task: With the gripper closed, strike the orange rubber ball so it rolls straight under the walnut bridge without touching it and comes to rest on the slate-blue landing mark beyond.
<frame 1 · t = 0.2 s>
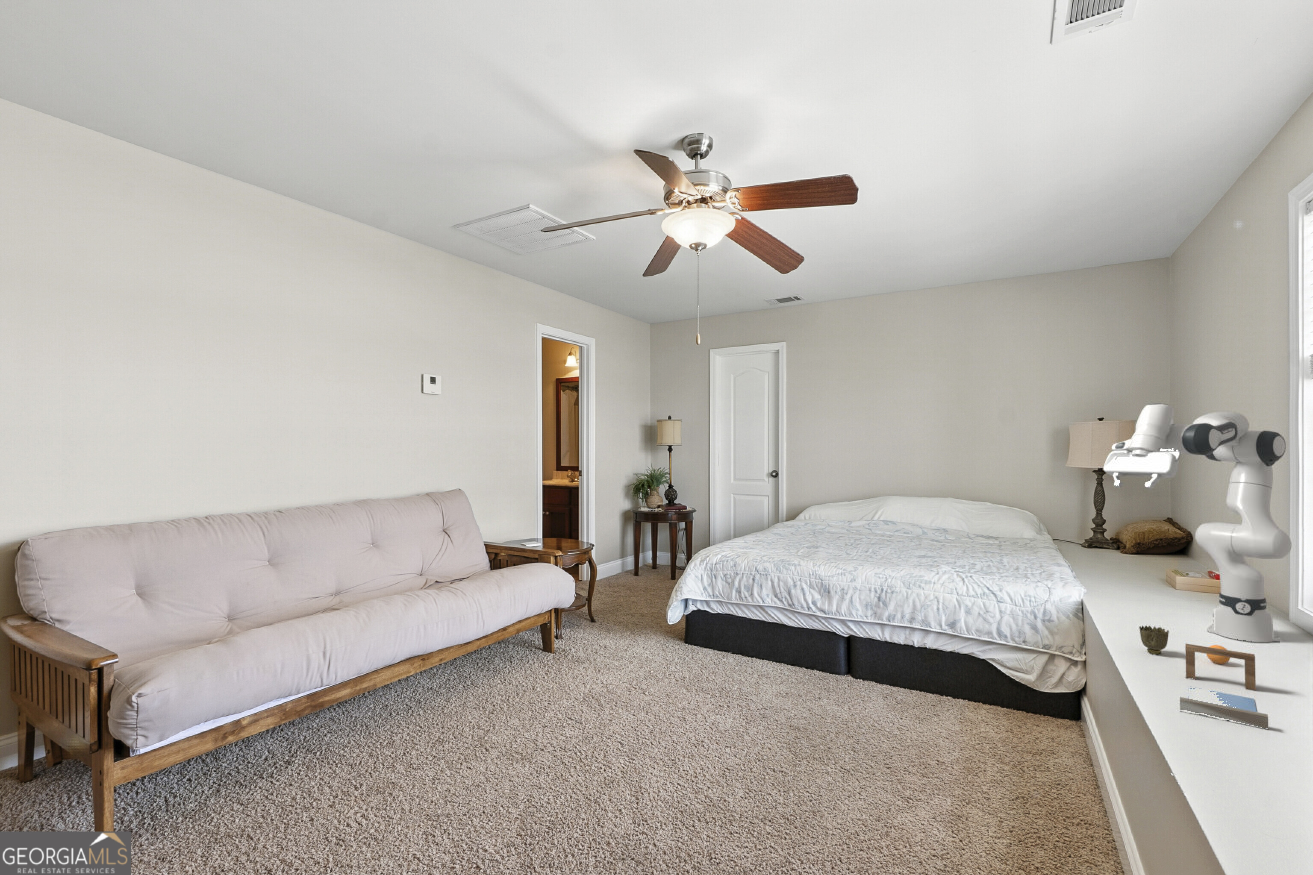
hand: (1132, 487, 197), 54 cm above the table, tool tilted 30°, fingers open, 8 cm apart
landing mark: (1221, 700, 164), on the table
ball: (1218, 654, 191), on the table
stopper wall: (1222, 718, 153), on the table
cup: (1154, 653, 200), on the table
bridge: (1219, 682, 176), on the table
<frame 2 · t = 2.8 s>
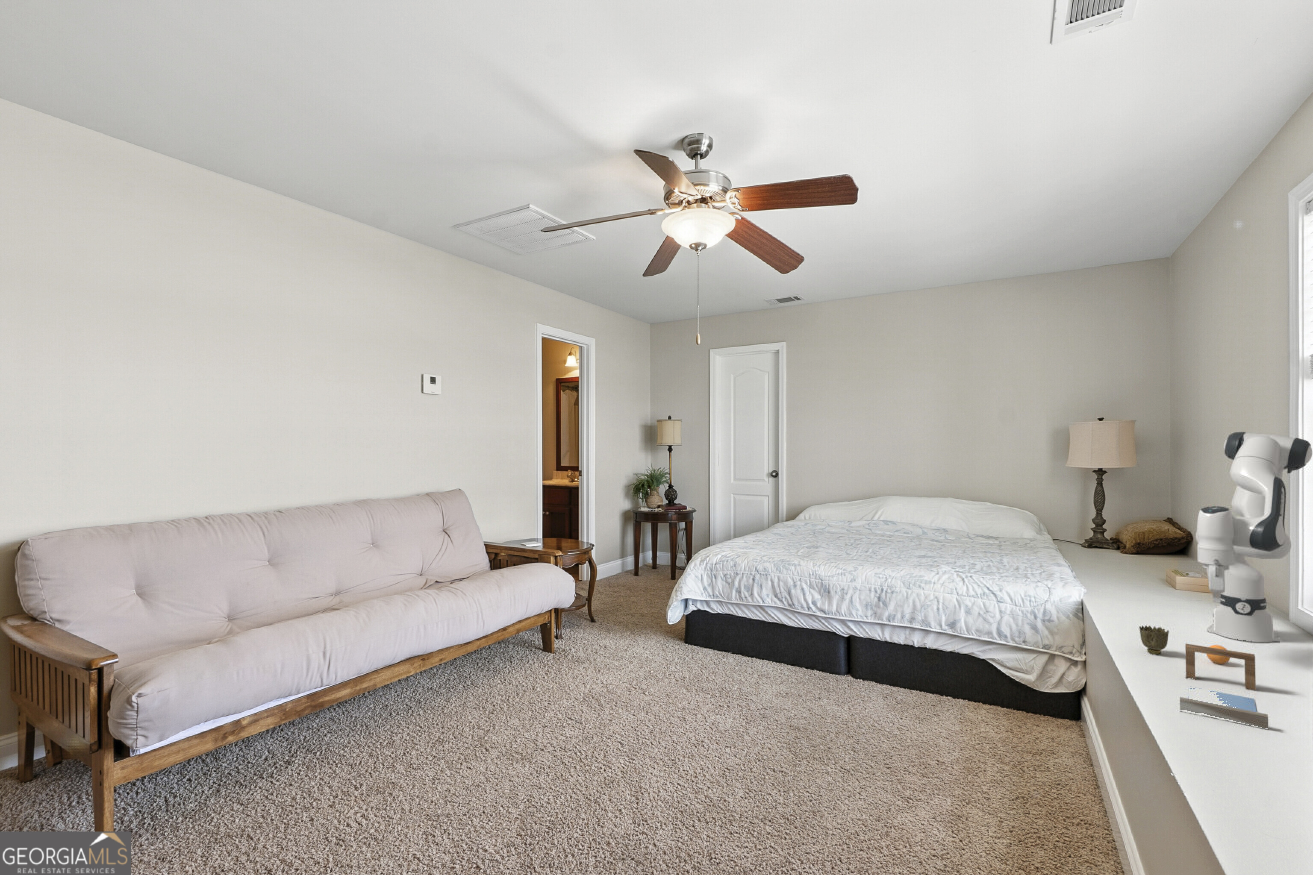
hand: (1216, 601, 198), 17 cm above the table, tool pointing down, fingers closed
nothing on the table moved.
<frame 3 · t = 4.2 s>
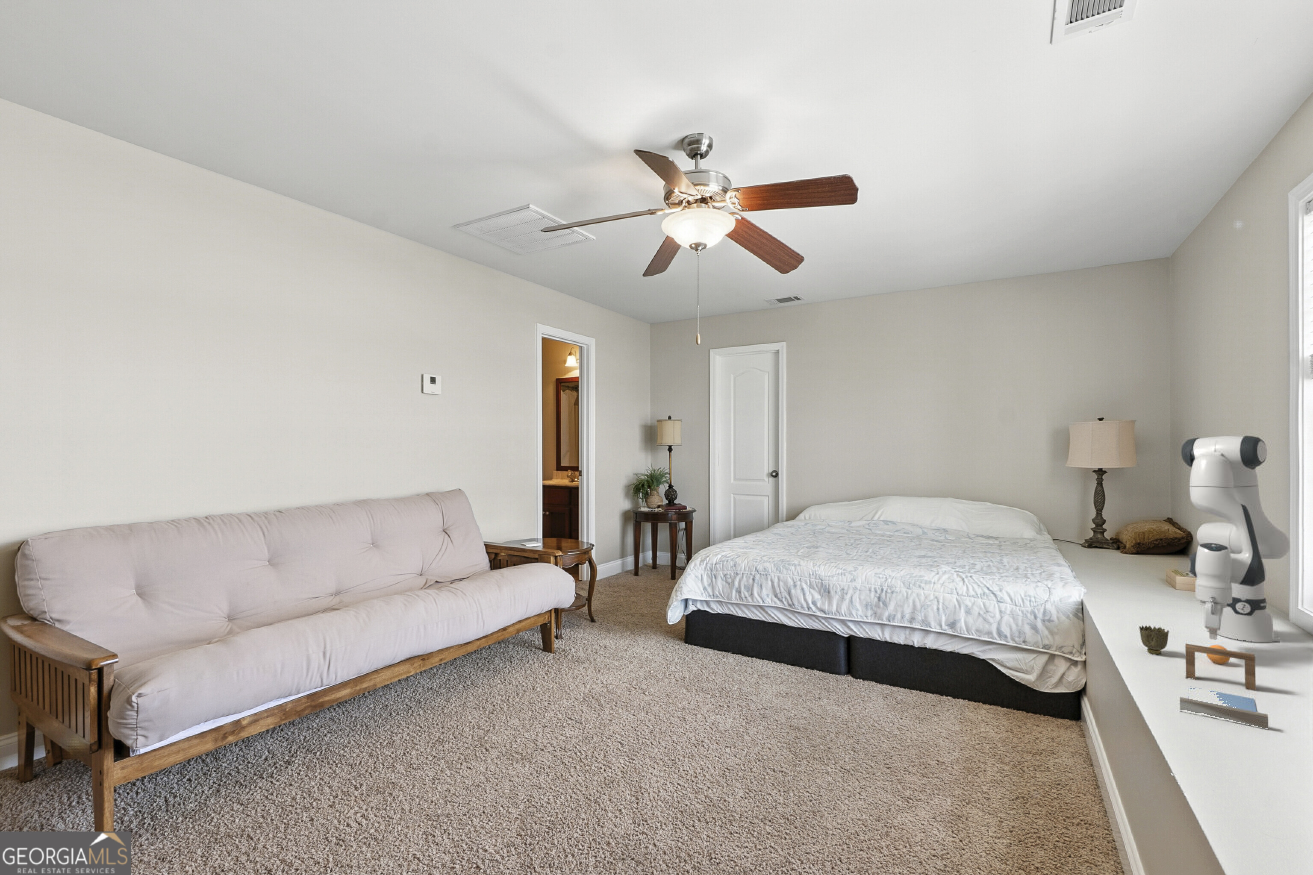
hand: (1213, 638, 198), 5 cm above the table, tool pointing down, fingers closed
nothing on the table moved.
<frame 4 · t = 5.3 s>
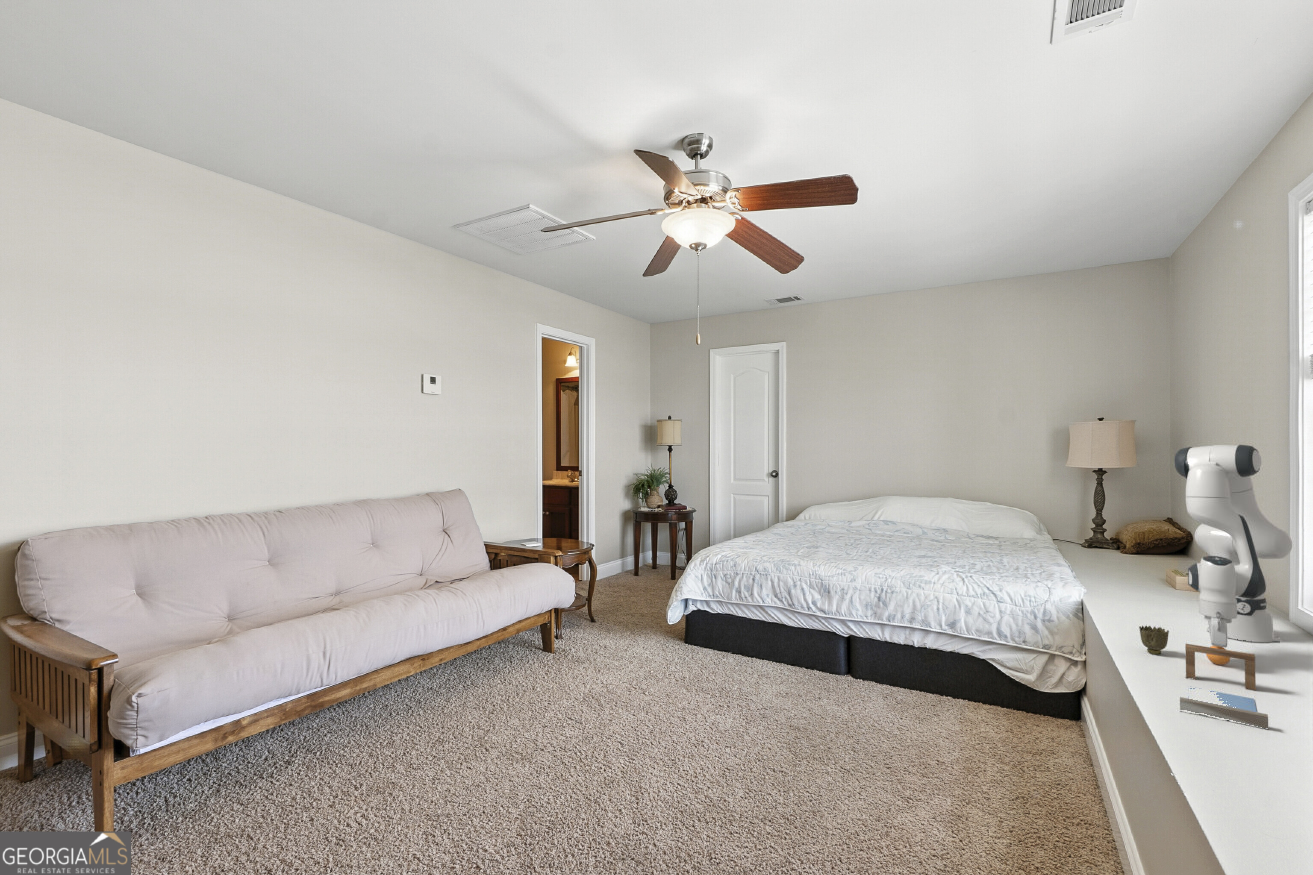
hand: (1218, 654, 193), 2 cm above the table, tool pointing down, fingers closed
ball: (1218, 655, 190), on the table, touching gripper
everything else where it was.
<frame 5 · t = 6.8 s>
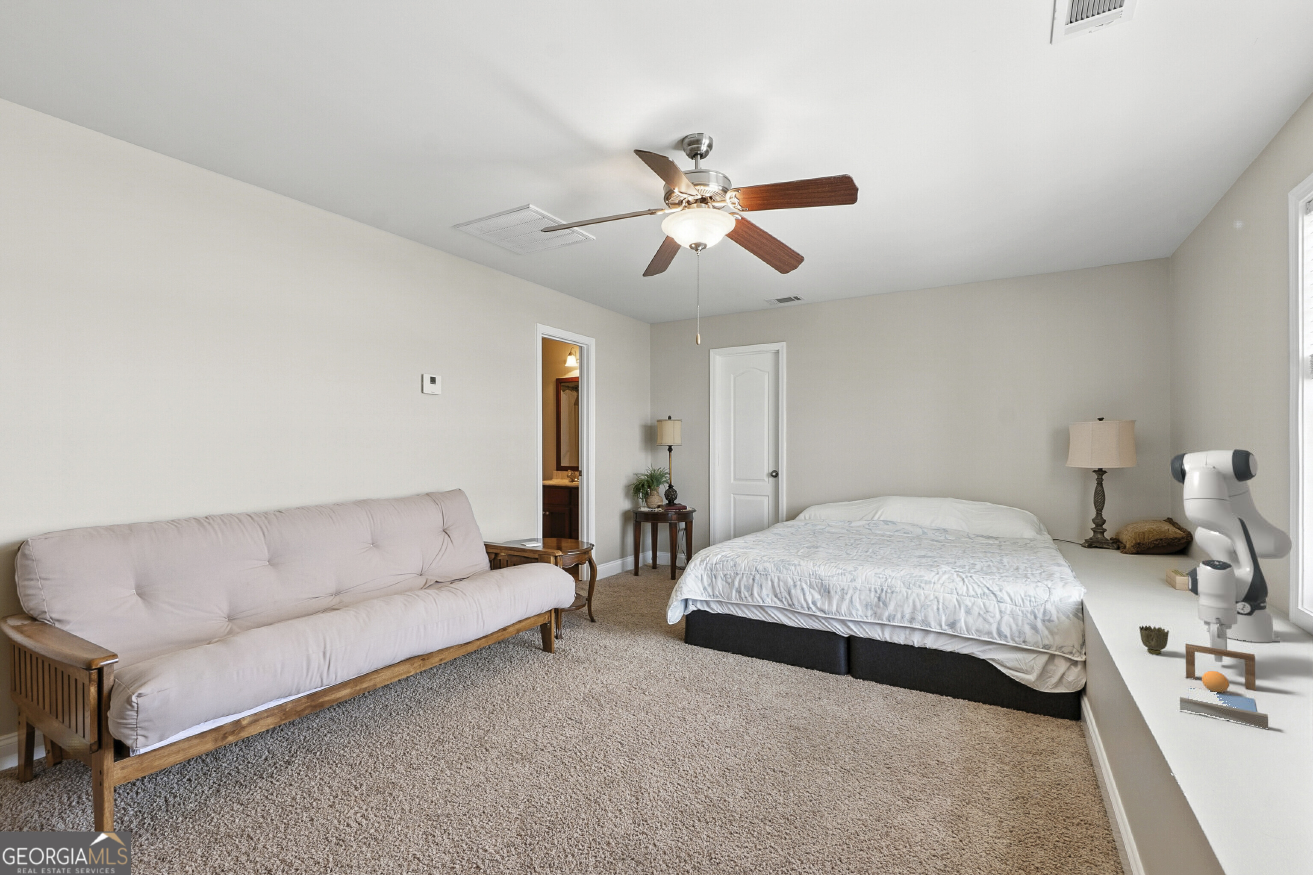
hand: (1218, 660, 188), 2 cm above the table, tool pointing down, fingers closed
ball: (1215, 681, 169), on the table
everything else where it was.
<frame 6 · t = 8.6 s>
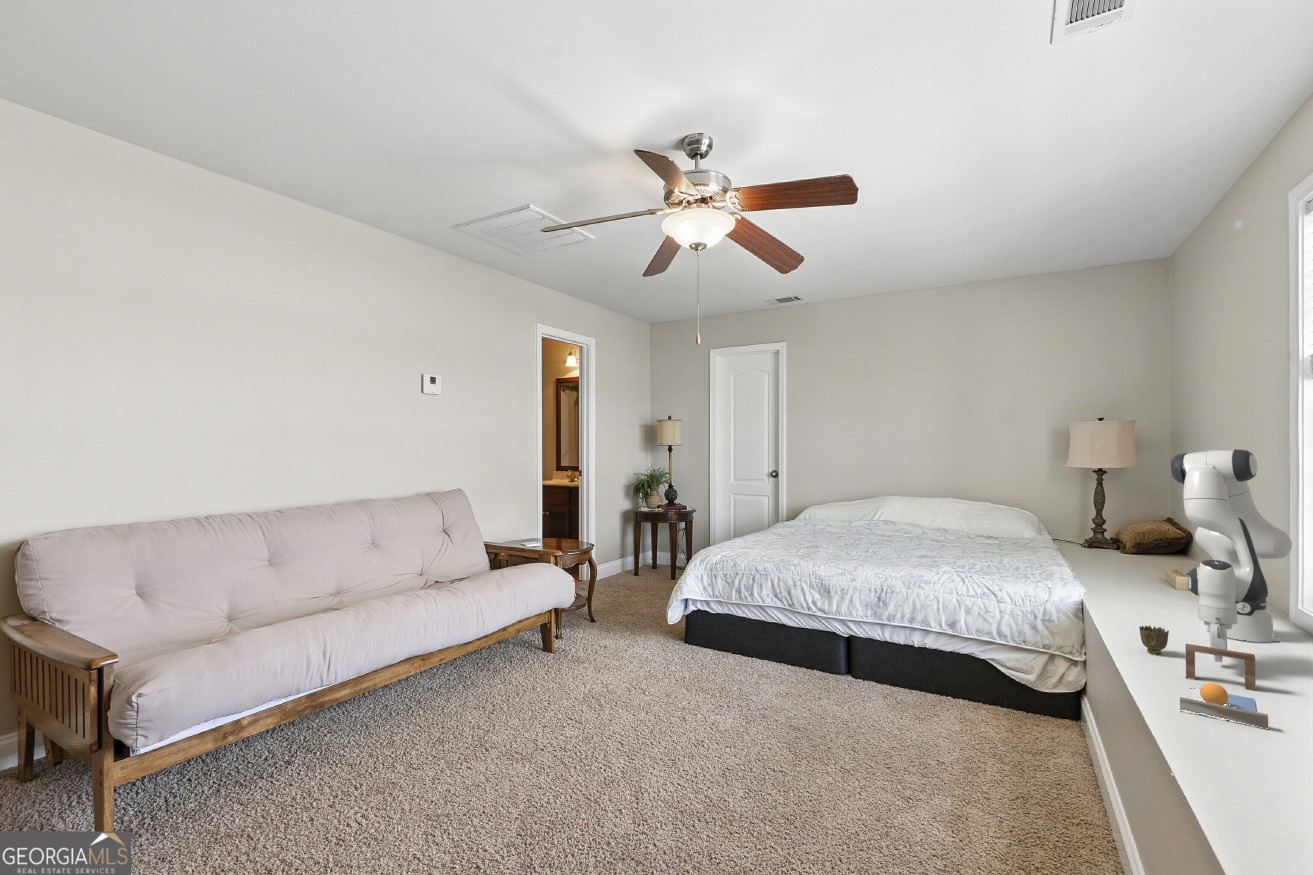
hand: (1218, 660, 188), 2 cm above the table, tool pointing down, fingers closed
ball: (1213, 694, 161), on the table
everything else where it was.
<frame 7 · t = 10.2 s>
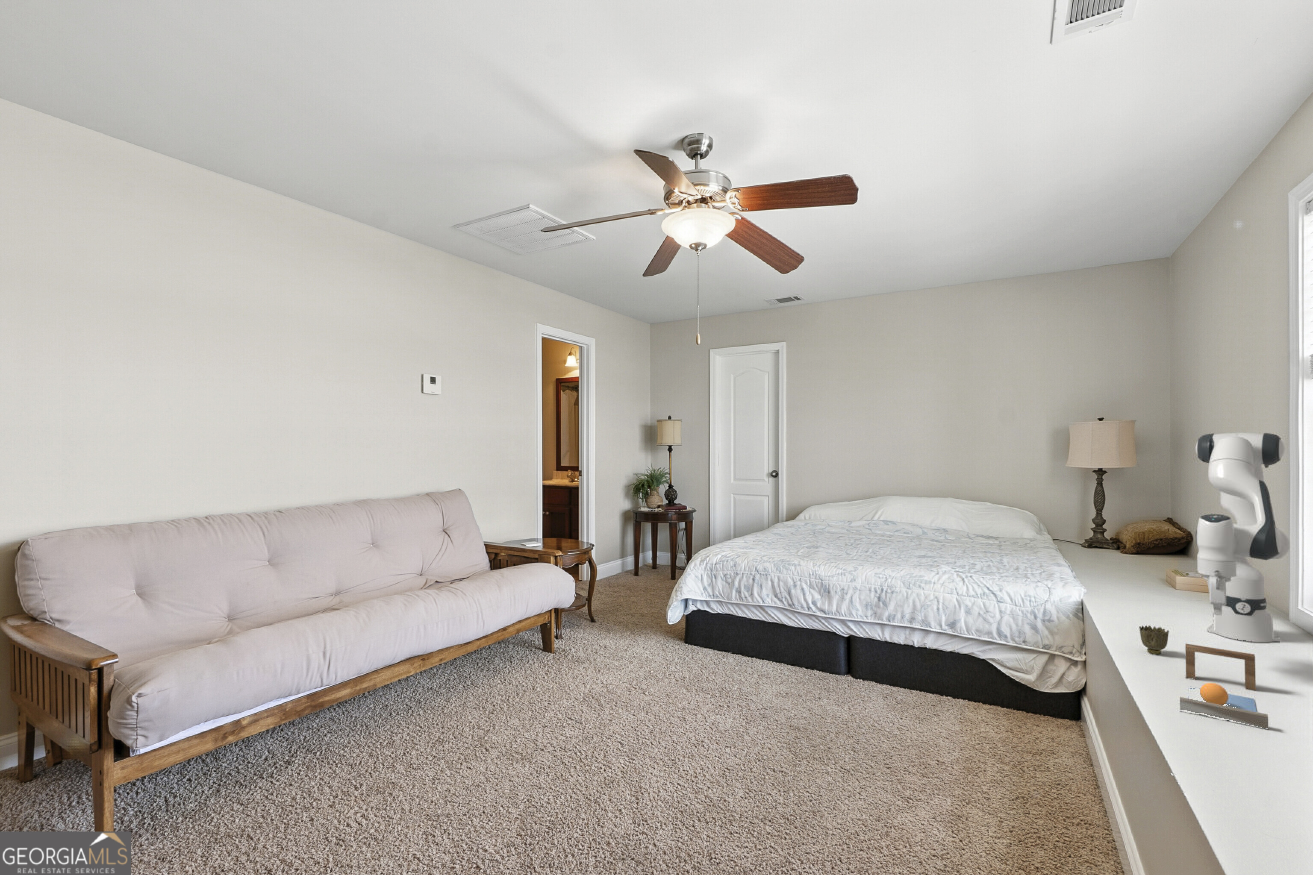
hand: (1217, 614, 189), 16 cm above the table, tool pointing down, fingers closed
nothing on the table moved.
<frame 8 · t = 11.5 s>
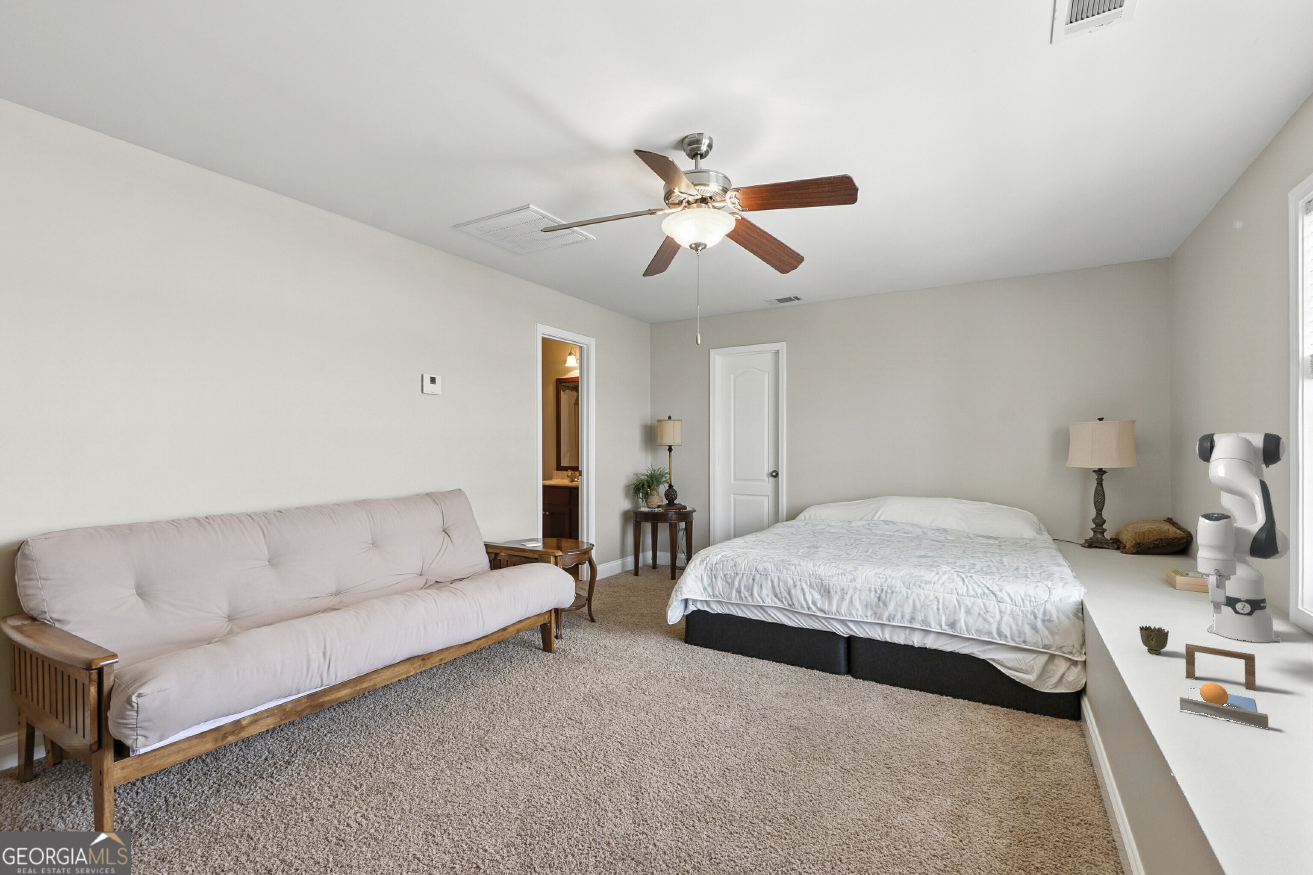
hand: (1217, 612, 189), 16 cm above the table, tool pointing down, fingers closed
nothing on the table moved.
at the end: ball 4.8 cm from the landing mark (horizontally); ball never touched bridge; ball at rest at the end (0.0 cm/s) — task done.
